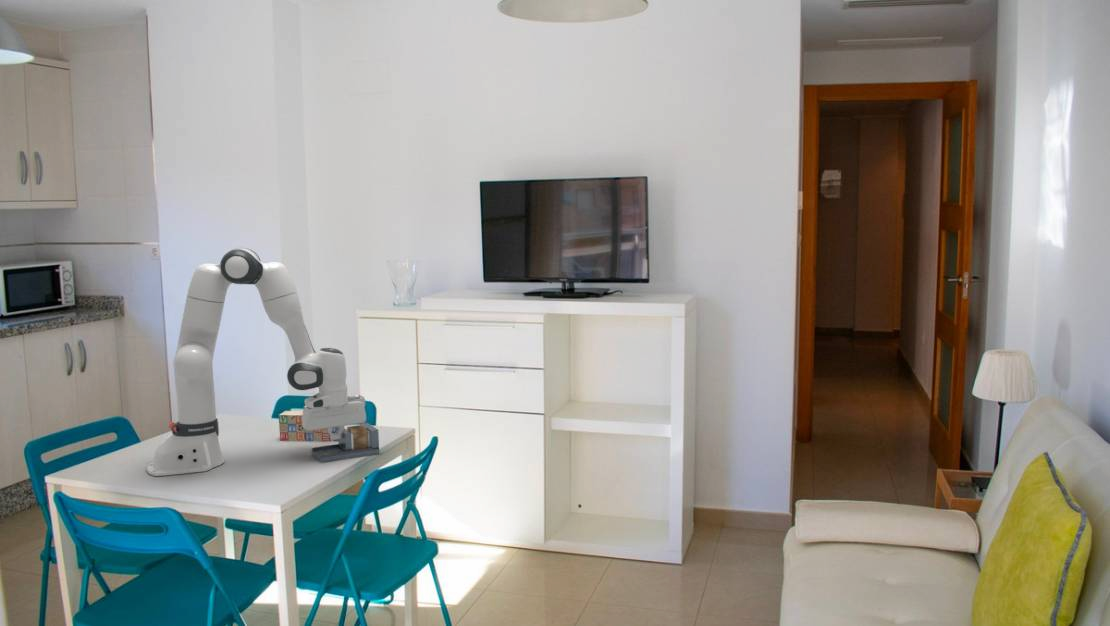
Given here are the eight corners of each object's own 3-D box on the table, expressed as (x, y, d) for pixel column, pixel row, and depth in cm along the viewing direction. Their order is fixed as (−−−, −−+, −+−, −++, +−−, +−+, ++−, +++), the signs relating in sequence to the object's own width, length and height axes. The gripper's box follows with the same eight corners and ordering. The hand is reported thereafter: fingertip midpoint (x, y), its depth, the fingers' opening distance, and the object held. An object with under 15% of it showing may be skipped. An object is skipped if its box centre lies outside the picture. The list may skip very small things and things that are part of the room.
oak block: (351, 450, 295) (350, 429, 294) (348, 447, 299) (347, 426, 298) (366, 448, 298) (365, 427, 297) (362, 445, 301) (361, 424, 300)
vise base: (321, 462, 287) (320, 438, 286) (311, 454, 296) (310, 430, 295) (379, 453, 296) (378, 429, 295) (368, 446, 306) (367, 422, 305)
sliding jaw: (346, 452, 292) (345, 433, 291) (338, 446, 299) (337, 428, 298) (353, 450, 293) (352, 432, 293) (346, 445, 300) (345, 427, 300)
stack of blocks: (279, 441, 315) (277, 406, 313) (286, 436, 321) (284, 402, 319) (339, 442, 312) (337, 406, 311) (345, 437, 319) (343, 402, 317)
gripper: (361, 392, 300) (363, 433, 302) (299, 400, 290) (301, 442, 292) (367, 395, 295) (369, 437, 297) (304, 403, 285) (307, 447, 286)
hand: (335, 440), depth 294 cm, fingers closed
